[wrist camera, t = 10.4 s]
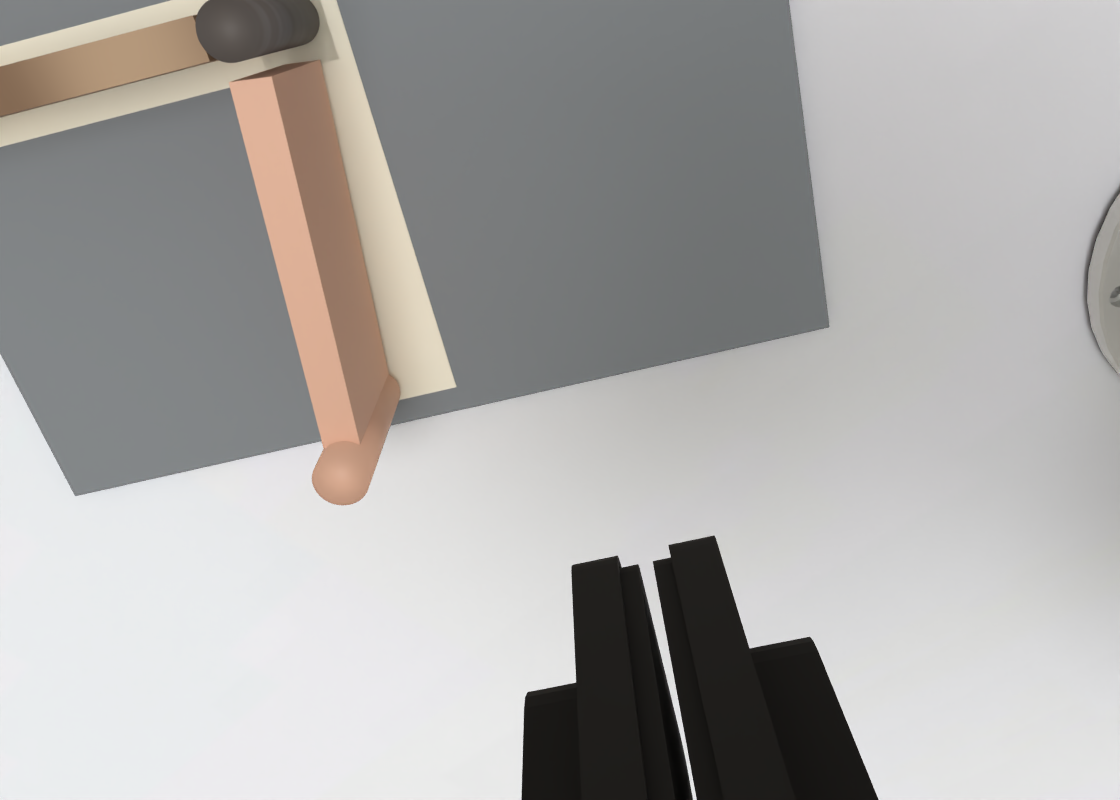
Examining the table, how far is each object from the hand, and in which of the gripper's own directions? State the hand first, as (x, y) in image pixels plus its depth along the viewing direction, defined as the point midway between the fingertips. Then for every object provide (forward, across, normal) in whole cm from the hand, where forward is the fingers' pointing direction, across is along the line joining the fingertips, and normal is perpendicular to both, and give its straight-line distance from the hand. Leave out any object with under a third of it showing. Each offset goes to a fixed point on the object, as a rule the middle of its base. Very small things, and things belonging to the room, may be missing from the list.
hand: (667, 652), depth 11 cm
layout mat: (+25, +8, -4) cm, 27 cm away
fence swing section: (+24, +9, 0) cm, 26 cm away
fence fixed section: (+25, +15, -8) cm, 30 cm away
